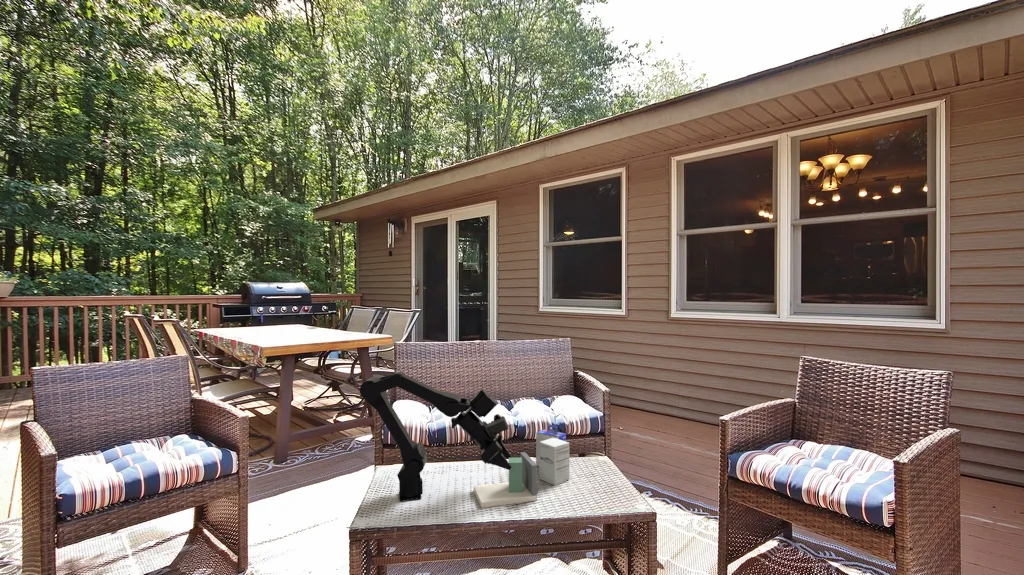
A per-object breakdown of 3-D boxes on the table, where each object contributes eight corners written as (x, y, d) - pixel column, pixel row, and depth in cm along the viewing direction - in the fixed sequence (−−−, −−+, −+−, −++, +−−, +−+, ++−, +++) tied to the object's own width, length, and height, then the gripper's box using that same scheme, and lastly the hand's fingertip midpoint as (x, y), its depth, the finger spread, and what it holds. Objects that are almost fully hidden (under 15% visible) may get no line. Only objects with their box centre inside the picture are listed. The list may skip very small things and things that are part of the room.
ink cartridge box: (567, 467, 166) (567, 426, 166) (559, 472, 162) (558, 430, 162) (544, 461, 172) (543, 422, 172) (535, 466, 168) (535, 425, 168)
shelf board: (481, 507, 136) (481, 471, 136) (473, 491, 147) (473, 457, 147) (537, 500, 140) (536, 465, 140) (525, 484, 152) (525, 452, 152)
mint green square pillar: (509, 492, 142) (508, 462, 142) (508, 486, 147) (508, 457, 147) (522, 492, 142) (522, 462, 142) (521, 486, 147) (521, 457, 147)
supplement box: (538, 479, 156) (538, 441, 156) (554, 473, 161) (554, 436, 161) (554, 486, 150) (554, 446, 150) (570, 480, 155) (570, 441, 155)
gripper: (492, 416, 135) (530, 454, 136) (493, 401, 154) (526, 435, 154) (465, 444, 135) (503, 482, 135) (469, 425, 154) (503, 459, 154)
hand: (510, 463), depth 145 cm, fingers open, 9 cm apart
